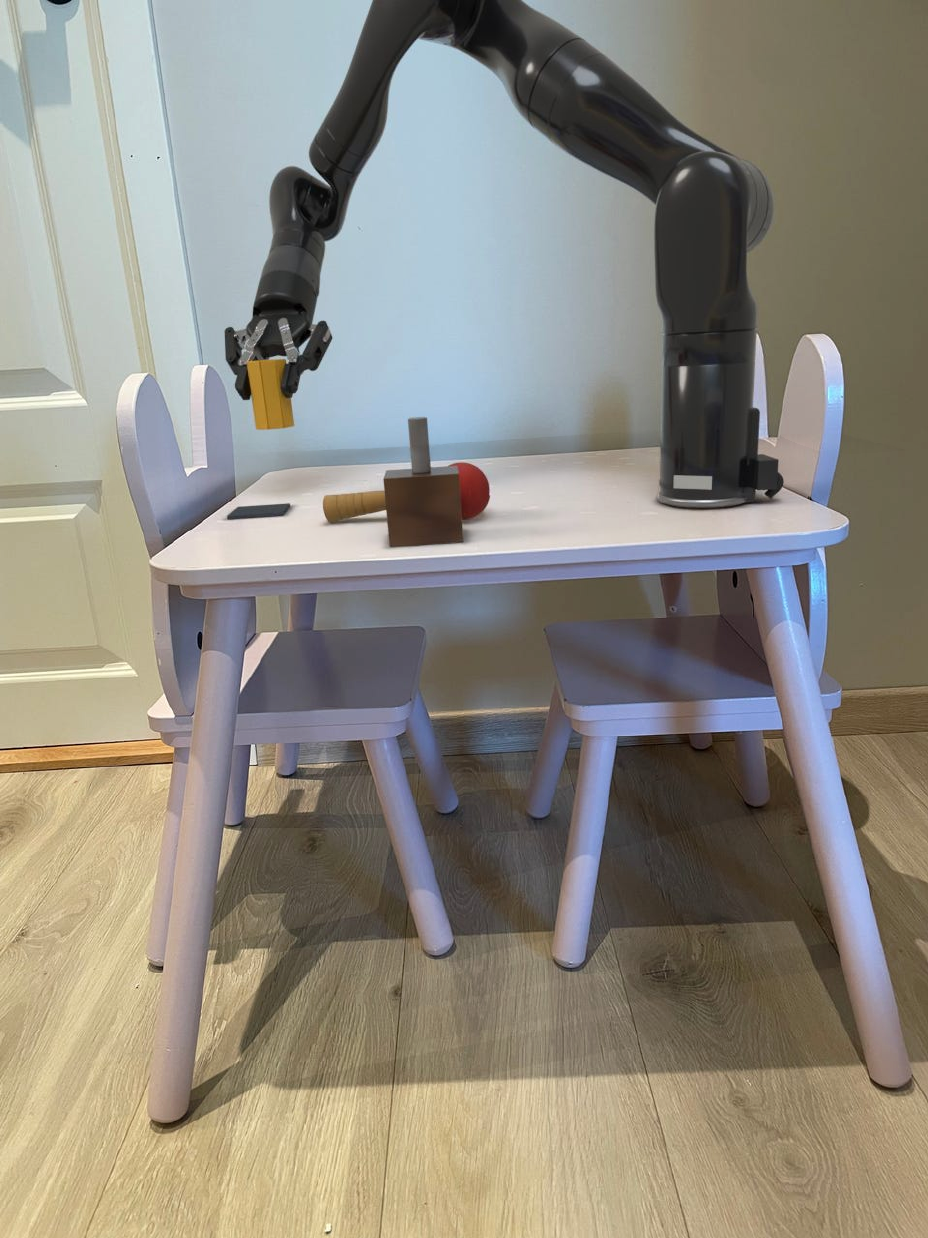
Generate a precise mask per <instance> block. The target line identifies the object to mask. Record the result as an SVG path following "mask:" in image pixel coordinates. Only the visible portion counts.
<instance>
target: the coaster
mask: <svg viewBox="0 0 928 1238" xmlns="http://www.w3.org/2000/svg"><path fill="white" fill-rule="evenodd" d="M290 508H291V503H290V502H289V503H288V502H287V503H286V502H285V503H274V504H258V505H244V506H236V508H234V509H233V510H231V512H230V513H229V514H228V515H227V516H226V519H227V520H236V519H251V518H267V517H268V518H269V517H283V516H284V514H286V512H287V511H288V510H289V509H290Z"/></svg>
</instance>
